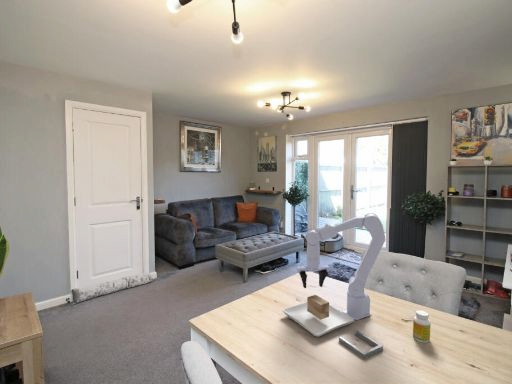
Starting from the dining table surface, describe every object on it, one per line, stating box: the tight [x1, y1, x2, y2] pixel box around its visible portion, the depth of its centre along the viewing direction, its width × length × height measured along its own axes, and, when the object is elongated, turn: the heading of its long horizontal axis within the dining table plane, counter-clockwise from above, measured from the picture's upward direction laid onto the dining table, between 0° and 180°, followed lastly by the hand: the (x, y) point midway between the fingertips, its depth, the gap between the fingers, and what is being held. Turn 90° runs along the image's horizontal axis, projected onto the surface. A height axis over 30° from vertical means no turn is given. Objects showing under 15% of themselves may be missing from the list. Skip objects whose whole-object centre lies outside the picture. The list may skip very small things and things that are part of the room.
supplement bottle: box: [412, 309, 432, 343], centre depth 101 cm, size 5×5×10 cm
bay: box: [338, 329, 384, 360], centre depth 97 cm, size 10×11×2 cm
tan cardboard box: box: [306, 294, 330, 320], centre depth 113 cm, size 4×8×6 cm, turn 30°
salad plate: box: [282, 301, 355, 338], centre depth 113 cm, size 21×21×3 cm
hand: (312, 286), depth 124 cm, fingers open, 7 cm apart
